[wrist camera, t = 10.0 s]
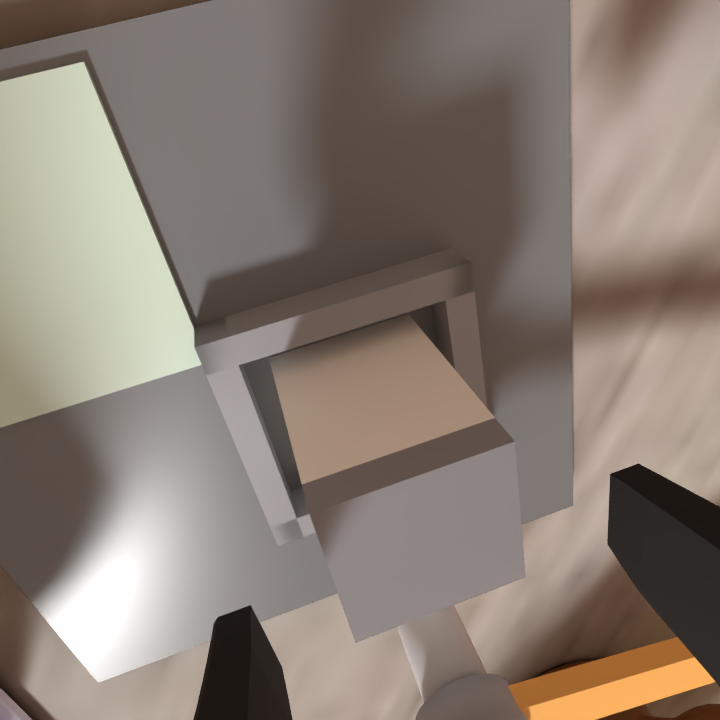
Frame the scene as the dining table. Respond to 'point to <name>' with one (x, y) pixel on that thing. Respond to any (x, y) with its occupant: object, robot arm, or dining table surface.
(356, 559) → the plug
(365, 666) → the dining table surface
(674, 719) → the mug
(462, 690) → the orange flat bar
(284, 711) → the robot arm
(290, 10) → the socket board
